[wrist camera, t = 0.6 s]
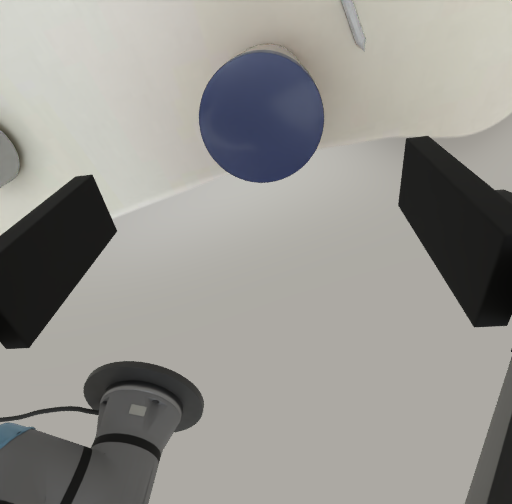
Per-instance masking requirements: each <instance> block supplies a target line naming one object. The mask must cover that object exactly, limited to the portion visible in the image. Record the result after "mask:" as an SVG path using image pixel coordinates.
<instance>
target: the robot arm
mask: <svg viewBox="0 0 512 504" xmlns="http://www.w3.org/2000/svg"><path fill="white" fill-rule="evenodd" d="M398 204H399V207H400V209H401V211H402V212H403V214H404V215H405V217H406V219H407V220H408V222H409V223H410V225H411V226H412V228H413V230H414V231H415V233H416V235H417V236H418V238H419V239H420V241H421V243H422V244H423V246H424V247H425V249H426V251H427V252H428V254H429V256H430V257H431V259H432V260H433V262H434V263H435V265H436V267H437V268H438V270H439V272H440V273H441V275H442V276H443V278H444V280H445V281H446V283H447V284H448V286H449V288H450V289H451V291H452V292H453V294H454V296H455V297H456V299H457V300H458V302H459V304H460V305H461V307H462V308H463V310H464V312H465V313H466V315H467V317H468V318H469V320H470V321H471V323H472V325H473V326H474V327H489V326H507V325H508V322H509V320H510V317H511V315H512V193H511V192H508V191H506V190H494V189H493V188H491V187H490V186H489V185H488V184H487V183H485V182H484V181H483V180H482V179H480V178H479V177H478V176H477V175H475V174H474V173H473V172H472V171H471V170H469V169H468V168H467V167H466V166H464V165H463V164H462V163H461V162H459V161H458V160H457V159H456V158H455V157H453V156H452V155H451V154H450V153H448V152H447V151H446V150H445V149H443V148H442V147H441V146H440V145H439V144H437V143H436V142H435V141H434V140H432V139H431V138H430V137H429V136H423V137H415V138H407V139H406V144H405V152H404V161H403V169H402V178H401V186H400V195H399V203H398ZM116 232H117V230H116V227H115V225H114V223H113V221H112V218H111V216H110V214H109V211H108V209H107V207H106V205H105V202H104V200H103V198H102V195H101V193H100V191H99V189H98V186H97V184H96V182H95V179H94V177H93V175H86V176H77V177H74V178H73V179H72V180H71V181H69V182H68V183H67V184H66V185H64V186H63V187H62V188H60V189H59V190H58V191H57V192H55V193H54V194H53V195H52V196H50V197H49V198H48V199H47V200H45V201H44V202H43V203H41V204H40V205H39V206H38V207H36V208H35V209H34V210H33V211H31V212H30V213H29V214H28V215H26V216H25V217H24V218H22V219H21V220H20V221H19V222H17V223H16V224H15V225H14V226H12V227H11V228H10V229H8V230H7V231H6V232H5V233H3V234H2V235H1V236H0V342H1V343H2V345H3V346H4V347H5V348H6V349H15V348H29V347H30V346H31V345H32V343H33V342H34V341H35V339H36V338H37V337H38V335H39V334H40V333H41V331H42V330H43V329H44V327H45V326H46V325H47V324H48V322H49V321H50V320H51V318H52V317H53V316H54V314H55V313H56V312H57V310H58V309H59V307H60V306H61V305H62V304H63V302H64V301H65V300H66V298H67V297H68V296H69V294H70V293H71V292H72V290H73V289H74V288H75V286H76V285H77V284H78V282H79V281H80V280H81V278H82V277H83V276H84V274H85V273H86V272H87V271H88V269H89V268H90V267H91V265H92V264H93V263H94V261H95V260H96V258H97V257H98V256H99V255H100V253H101V252H102V250H103V249H104V248H105V247H106V245H107V244H108V243H109V241H110V240H111V239H112V237H113V236H114V235H115V233H116ZM511 352H512V350H511ZM57 411H80V412H84V413H89V414H95V415H99V417H98V425H97V434H96V438H95V440H94V443H93V445H92V447H91V448H88V447H85V446H82V445H79V444H76V443H73V442H70V441H67V440H64V439H61V438H58V437H55V436H52V435H49V434H46V433H43V432H40V431H37V430H35V428H34V427H25V426H21V425H18V424H14V423H4V424H1V425H0V504H148V502H149V499H150V494H151V491H152V487H153V483H154V480H155V476H156V472H157V468H158V464H159V461H160V457H161V453H162V451H163V449H164V447H165V446H166V444H167V442H168V441H169V439H170V437H171V436H172V434H173V432H174V431H175V429H176V427H177V426H178V424H179V423H180V420H181V416H182V412H183V406H182V403H181V401H180V400H179V399H178V397H177V396H176V395H174V394H173V393H172V392H170V391H169V390H167V389H165V388H163V387H161V386H159V385H156V384H153V383H149V382H144V381H135V380H129V381H121V382H117V383H114V384H112V385H110V386H109V387H108V388H107V389H106V390H105V392H104V394H103V397H102V399H101V401H100V408H99V410H92V409H86V408H82V407H72V406H68V407H55V408H49V409H42V410H37V411H33V412H30V413H27V414H23V415H19V416H13V417H3V418H0V422H4V421H12V420H19V419H23V418H27V417H30V416H34V415H38V414H43V413H49V412H57ZM465 504H512V358H511V361H510V364H509V367H508V370H507V373H506V377H505V380H504V383H503V386H502V389H501V392H500V396H499V398H498V402H497V405H496V408H495V411H494V414H493V417H492V420H491V424H490V427H489V430H488V433H487V437H486V439H485V442H484V445H483V448H482V452H481V455H480V458H479V461H478V464H477V467H476V471H475V473H474V477H473V480H472V483H471V486H470V489H469V493H468V496H467V499H466V502H465Z"/></svg>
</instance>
